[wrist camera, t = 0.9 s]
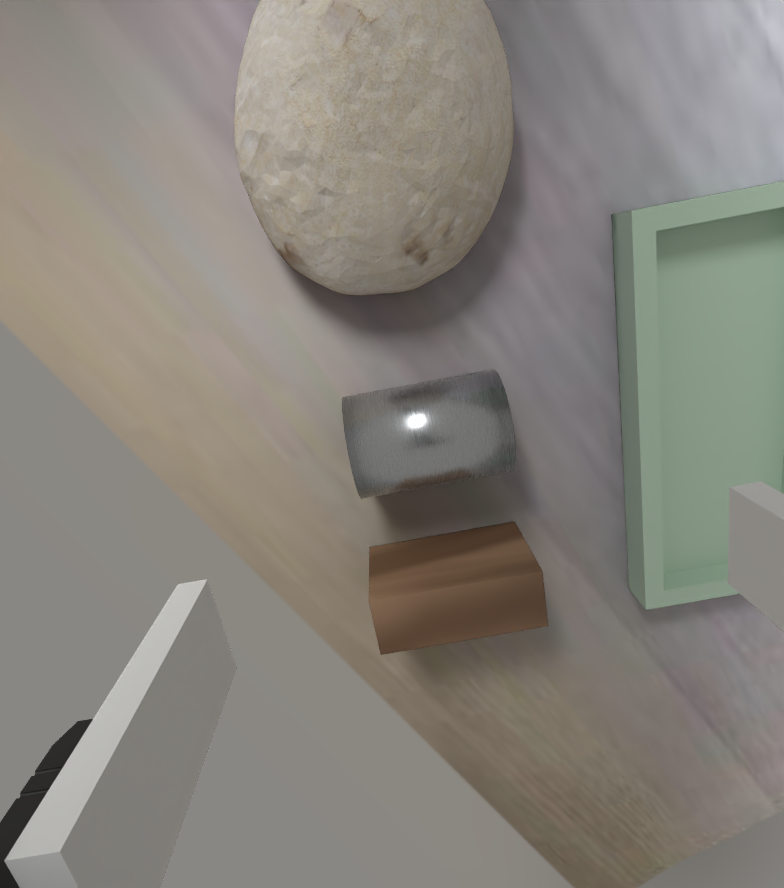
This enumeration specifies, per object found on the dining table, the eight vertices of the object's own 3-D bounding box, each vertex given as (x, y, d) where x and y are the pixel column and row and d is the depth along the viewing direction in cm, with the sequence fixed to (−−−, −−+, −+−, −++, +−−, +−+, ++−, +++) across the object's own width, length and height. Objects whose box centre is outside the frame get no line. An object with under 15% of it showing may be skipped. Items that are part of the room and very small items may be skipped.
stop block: (369, 547, 29) (368, 601, 24) (514, 521, 29) (542, 571, 24) (379, 593, 30) (380, 654, 25) (520, 569, 30) (548, 626, 25)
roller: (345, 387, 26) (339, 411, 22) (484, 361, 26) (507, 380, 22) (364, 476, 28) (361, 515, 23) (496, 452, 28) (520, 487, 23)
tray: (611, 214, 24) (631, 210, 22) (810, 176, 24) (847, 168, 22) (628, 588, 31) (645, 610, 29) (786, 561, 30) (814, 580, 28)
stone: (405, 280, 29) (516, 301, 24) (230, 290, 24) (318, 321, 18) (417, -16, 24) (563, -82, 18) (197, -89, 19) (305, -217, 13)
